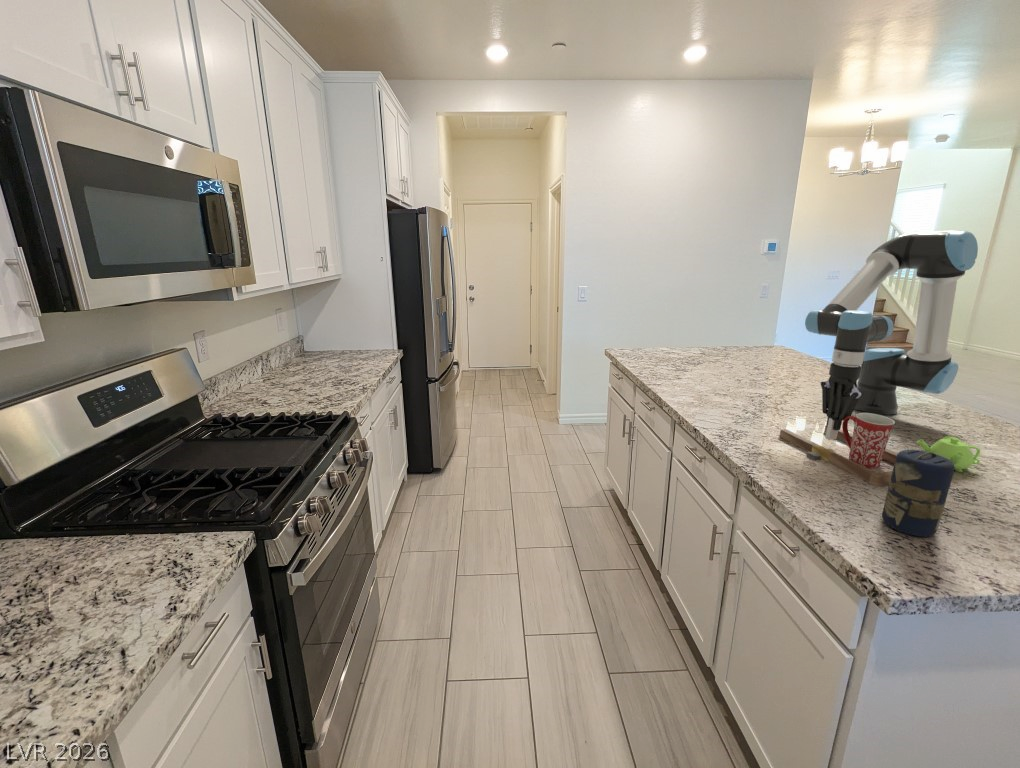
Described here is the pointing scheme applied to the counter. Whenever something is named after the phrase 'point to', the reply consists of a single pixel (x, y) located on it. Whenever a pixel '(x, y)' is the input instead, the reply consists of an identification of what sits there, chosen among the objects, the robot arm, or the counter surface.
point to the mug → (868, 438)
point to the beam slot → (841, 457)
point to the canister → (917, 492)
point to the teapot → (953, 452)
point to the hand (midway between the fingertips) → (830, 438)
